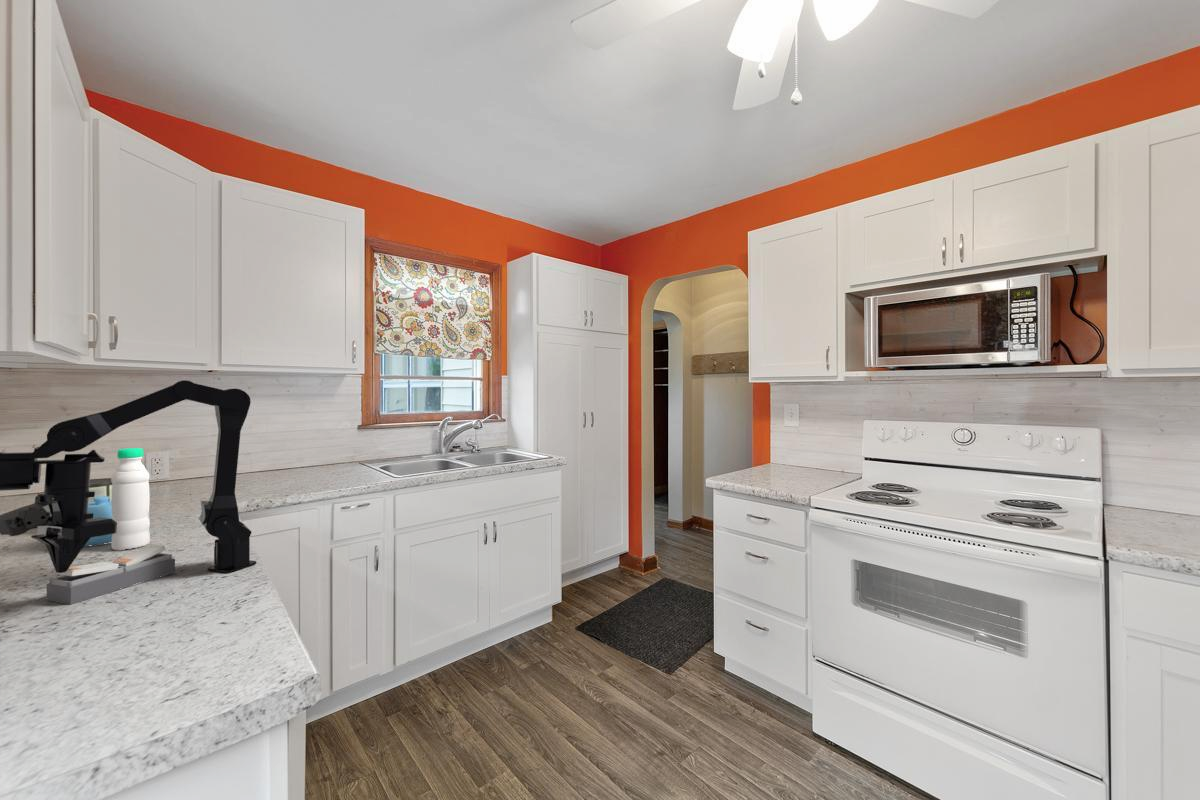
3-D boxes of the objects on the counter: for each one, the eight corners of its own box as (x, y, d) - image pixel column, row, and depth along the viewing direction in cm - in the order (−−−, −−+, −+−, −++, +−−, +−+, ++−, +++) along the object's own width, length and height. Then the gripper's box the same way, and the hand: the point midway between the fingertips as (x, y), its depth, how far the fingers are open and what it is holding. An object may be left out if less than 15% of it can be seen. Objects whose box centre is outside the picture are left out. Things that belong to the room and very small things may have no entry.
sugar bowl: (154, 534, 136) (154, 493, 136) (84, 551, 121) (84, 504, 121) (116, 531, 140) (116, 490, 140) (44, 546, 125) (44, 501, 125)
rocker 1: (117, 569, 97) (118, 563, 98) (71, 576, 91) (72, 569, 91) (104, 567, 99) (105, 561, 99) (57, 574, 92) (59, 567, 92)
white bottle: (126, 552, 120) (125, 450, 120) (103, 550, 122) (103, 449, 122) (157, 543, 127) (156, 447, 127) (135, 542, 129) (135, 446, 129)
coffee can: (65, 530, 140) (65, 481, 140) (115, 523, 148) (115, 476, 148) (68, 537, 133) (68, 485, 133) (121, 529, 141) (120, 480, 141)
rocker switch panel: (175, 572, 106) (175, 554, 106) (70, 604, 90) (70, 583, 90) (152, 569, 108) (152, 551, 108) (46, 600, 92) (46, 579, 92)
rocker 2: (165, 549, 105) (163, 545, 105) (127, 568, 99) (125, 563, 99) (152, 548, 107) (151, 543, 106) (113, 566, 100) (112, 561, 100)
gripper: (-28, 489, 87) (-35, 579, 86) (39, 496, 81) (32, 592, 81) (57, 482, 97) (51, 562, 96) (121, 488, 92) (115, 572, 91)
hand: (61, 572), depth 91 cm, fingers closed, pressing on rocker 1
